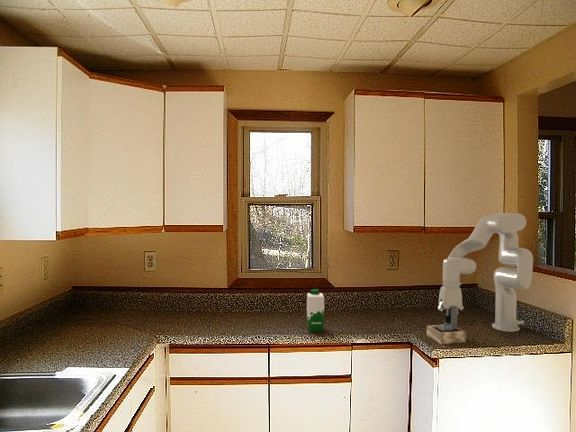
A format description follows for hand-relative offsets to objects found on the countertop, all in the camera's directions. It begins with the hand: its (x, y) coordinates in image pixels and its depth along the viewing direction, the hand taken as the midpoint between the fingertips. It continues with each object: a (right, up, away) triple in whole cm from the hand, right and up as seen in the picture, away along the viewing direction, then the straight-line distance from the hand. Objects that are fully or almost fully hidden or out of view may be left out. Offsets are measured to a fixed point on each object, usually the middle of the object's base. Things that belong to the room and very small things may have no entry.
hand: (450, 322), depth 191 cm
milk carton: (-64, -8, +15) cm, 66 cm away
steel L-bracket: (-2, -4, 0) cm, 5 cm away
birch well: (-2, -8, 0) cm, 8 cm away
